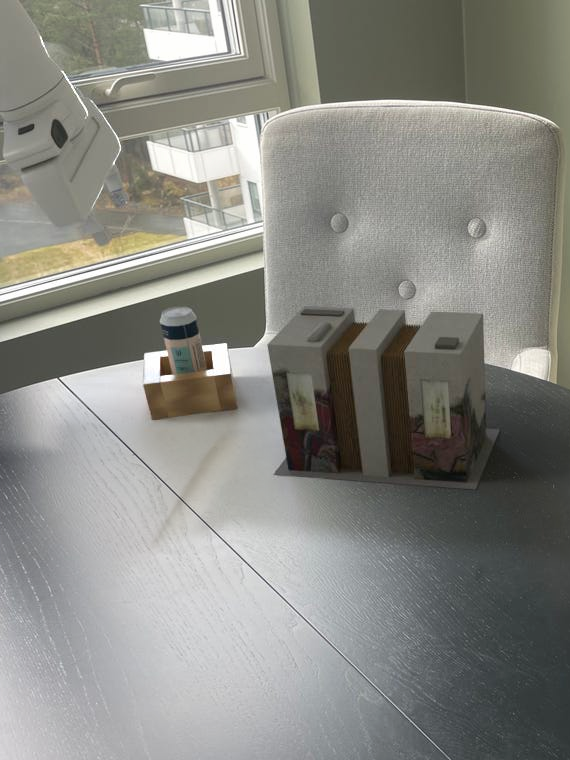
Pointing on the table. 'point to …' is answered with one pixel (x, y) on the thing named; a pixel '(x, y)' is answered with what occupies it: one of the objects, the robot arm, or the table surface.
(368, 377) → the bookend
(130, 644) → the table surface
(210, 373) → the holder
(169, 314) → the supplement bottle
